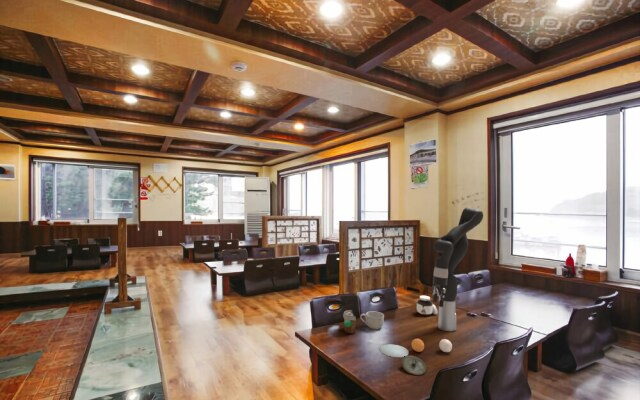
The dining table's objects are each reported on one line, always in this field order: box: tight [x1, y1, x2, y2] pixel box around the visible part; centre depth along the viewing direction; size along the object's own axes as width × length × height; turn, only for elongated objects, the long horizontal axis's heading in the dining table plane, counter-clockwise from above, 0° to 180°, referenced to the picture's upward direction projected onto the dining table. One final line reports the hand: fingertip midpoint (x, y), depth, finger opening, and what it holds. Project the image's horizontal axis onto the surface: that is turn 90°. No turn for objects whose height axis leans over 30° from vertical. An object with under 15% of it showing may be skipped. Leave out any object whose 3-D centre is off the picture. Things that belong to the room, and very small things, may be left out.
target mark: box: [379, 343, 409, 358], centre depth 157 cm, size 14×14×1 cm
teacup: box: [359, 310, 385, 330], centre depth 188 cm, size 14×11×8 cm
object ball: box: [411, 338, 425, 353], centre depth 157 cm, size 6×6×6 cm
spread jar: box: [416, 295, 439, 317], centre depth 215 cm, size 12×11×12 cm
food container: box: [342, 309, 357, 335], centre depth 181 cm, size 12×6×10 cm, turn 5°
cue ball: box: [438, 338, 453, 353], centre depth 157 cm, size 6×6×6 cm
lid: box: [400, 355, 427, 376], centre depth 139 cm, size 11×10×5 cm
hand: (437, 304), depth 178 cm, fingers open, 8 cm apart
